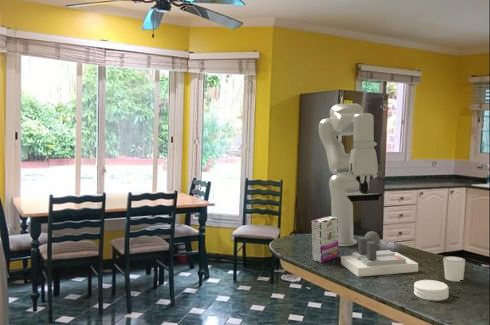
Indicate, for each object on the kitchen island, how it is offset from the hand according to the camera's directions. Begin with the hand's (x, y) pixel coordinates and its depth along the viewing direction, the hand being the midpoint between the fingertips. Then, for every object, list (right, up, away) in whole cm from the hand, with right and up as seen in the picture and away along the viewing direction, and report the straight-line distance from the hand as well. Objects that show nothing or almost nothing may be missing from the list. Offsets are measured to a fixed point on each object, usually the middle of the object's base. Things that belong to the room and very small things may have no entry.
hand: (363, 193), depth 179 cm
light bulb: (+6, -26, +11) cm, 29 cm away
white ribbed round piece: (+12, -30, -35) cm, 47 cm away
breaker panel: (+4, -28, -6) cm, 28 cm away
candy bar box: (-13, -27, +8) cm, 31 cm away
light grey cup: (+26, -28, -20) cm, 43 cm away
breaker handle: (0, -23, -11) cm, 26 cm away
